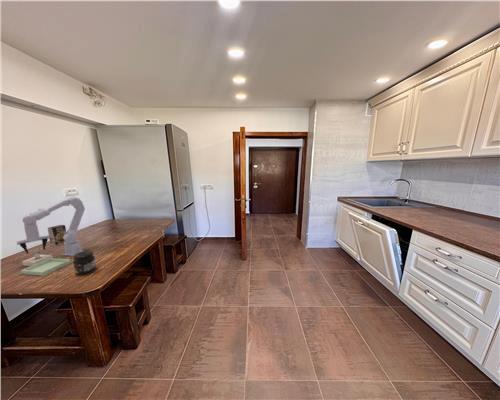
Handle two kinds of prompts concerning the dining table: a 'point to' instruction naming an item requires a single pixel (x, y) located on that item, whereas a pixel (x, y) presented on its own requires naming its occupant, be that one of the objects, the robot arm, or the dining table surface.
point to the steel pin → (36, 254)
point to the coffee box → (57, 235)
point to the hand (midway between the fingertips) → (36, 251)
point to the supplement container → (84, 262)
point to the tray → (45, 267)
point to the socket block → (32, 260)
